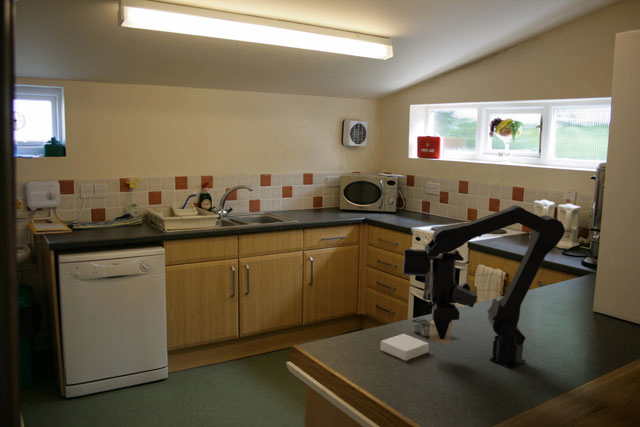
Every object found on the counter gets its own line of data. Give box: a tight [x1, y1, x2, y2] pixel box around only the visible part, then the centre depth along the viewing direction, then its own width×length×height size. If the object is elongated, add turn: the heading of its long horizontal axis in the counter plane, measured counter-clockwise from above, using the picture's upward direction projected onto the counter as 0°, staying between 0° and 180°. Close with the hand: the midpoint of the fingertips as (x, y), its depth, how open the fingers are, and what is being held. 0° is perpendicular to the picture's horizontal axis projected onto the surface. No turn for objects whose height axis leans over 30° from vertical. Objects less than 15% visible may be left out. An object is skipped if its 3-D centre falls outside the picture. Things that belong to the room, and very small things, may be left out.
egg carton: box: [410, 317, 432, 337], centre depth 158 cm, size 11×8×4 cm
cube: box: [428, 317, 453, 345], centre depth 138 cm, size 5×5×5 cm
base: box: [380, 333, 429, 361], centre depth 144 cm, size 9×9×2 cm
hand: (440, 334), depth 139 cm, fingers closed on cube, 6 cm apart
